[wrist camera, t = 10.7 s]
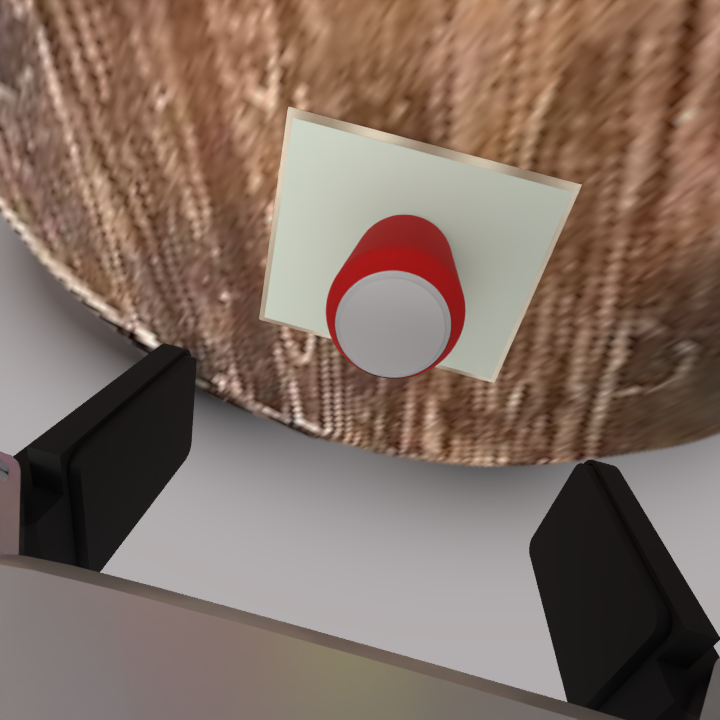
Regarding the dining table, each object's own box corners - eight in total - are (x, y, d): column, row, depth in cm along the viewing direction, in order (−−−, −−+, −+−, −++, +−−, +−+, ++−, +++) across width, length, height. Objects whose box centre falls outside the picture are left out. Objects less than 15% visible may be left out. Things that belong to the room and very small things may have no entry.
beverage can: (341, 235, 28) (292, 288, 18) (432, 195, 26) (439, 228, 16) (377, 317, 30) (353, 410, 20) (464, 286, 29) (488, 369, 18)
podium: (564, 180, 29) (584, 185, 25) (487, 362, 35) (495, 386, 32) (302, 110, 29) (285, 105, 25) (273, 304, 35) (256, 321, 32)
